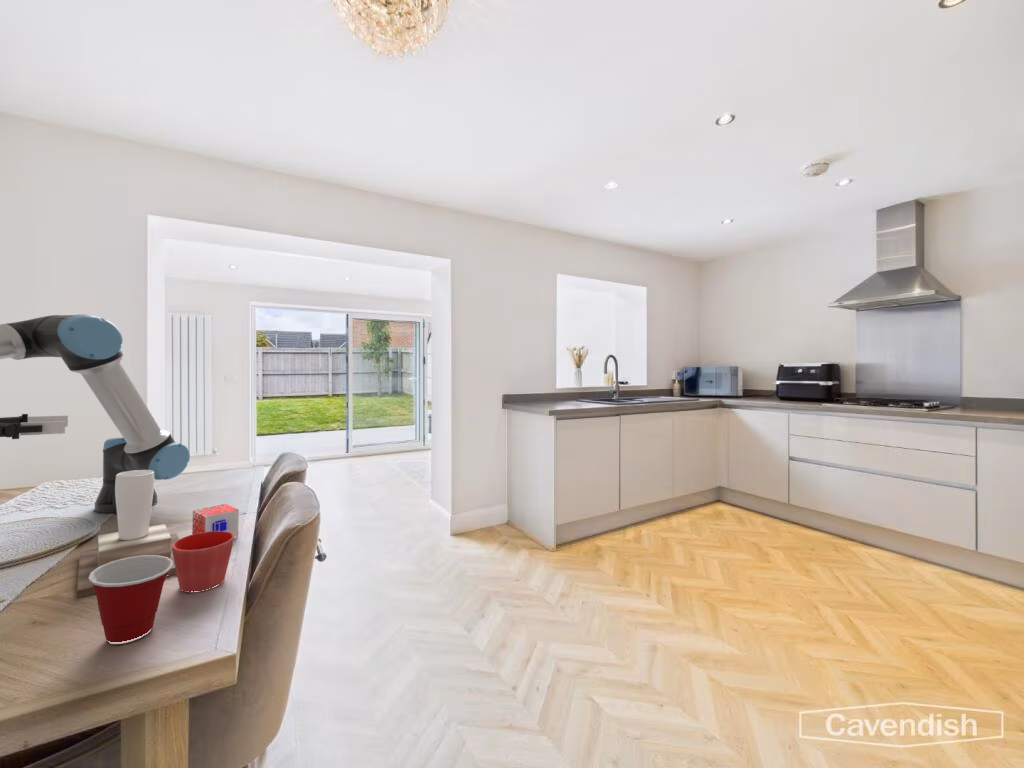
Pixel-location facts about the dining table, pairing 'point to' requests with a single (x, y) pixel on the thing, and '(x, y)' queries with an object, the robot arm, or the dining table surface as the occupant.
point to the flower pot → (202, 559)
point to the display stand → (123, 553)
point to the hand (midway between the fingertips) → (66, 424)
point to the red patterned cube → (216, 519)
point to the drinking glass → (134, 503)
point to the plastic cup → (129, 594)
